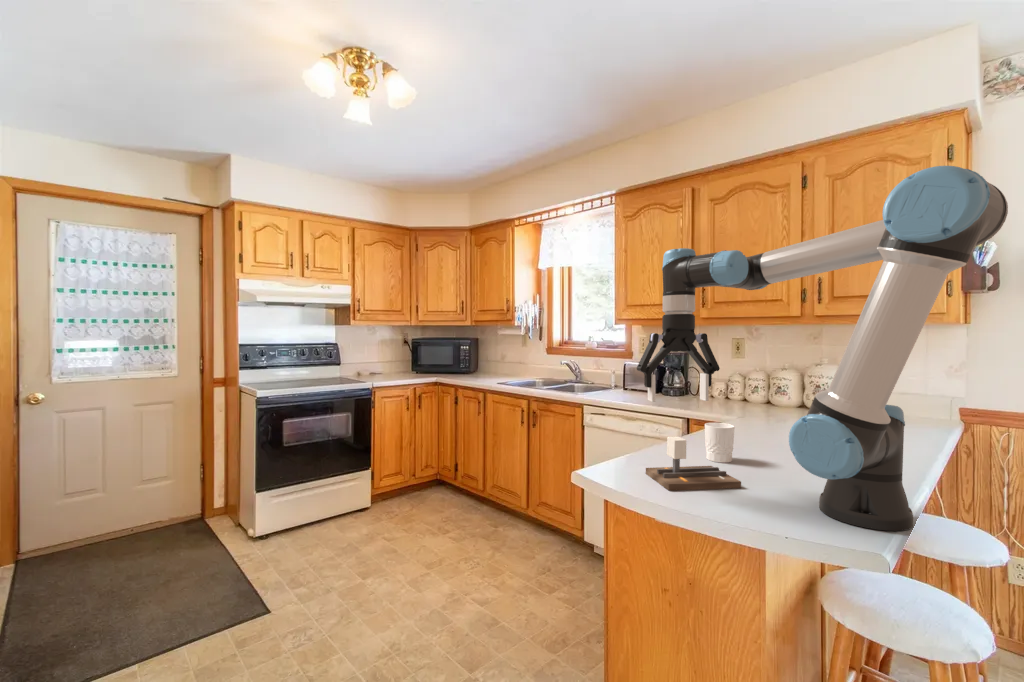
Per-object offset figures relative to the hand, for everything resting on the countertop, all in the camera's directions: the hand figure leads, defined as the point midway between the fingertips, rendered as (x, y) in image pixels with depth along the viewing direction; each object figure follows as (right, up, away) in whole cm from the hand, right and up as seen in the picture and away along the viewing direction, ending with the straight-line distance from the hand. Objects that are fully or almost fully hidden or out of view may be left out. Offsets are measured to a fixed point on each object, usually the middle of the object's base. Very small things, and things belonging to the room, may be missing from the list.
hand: (677, 400), depth 116 cm
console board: (+4, -20, +1) cm, 20 cm away
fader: (0, -18, +1) cm, 18 cm away
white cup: (+19, -20, +20) cm, 34 cm away
